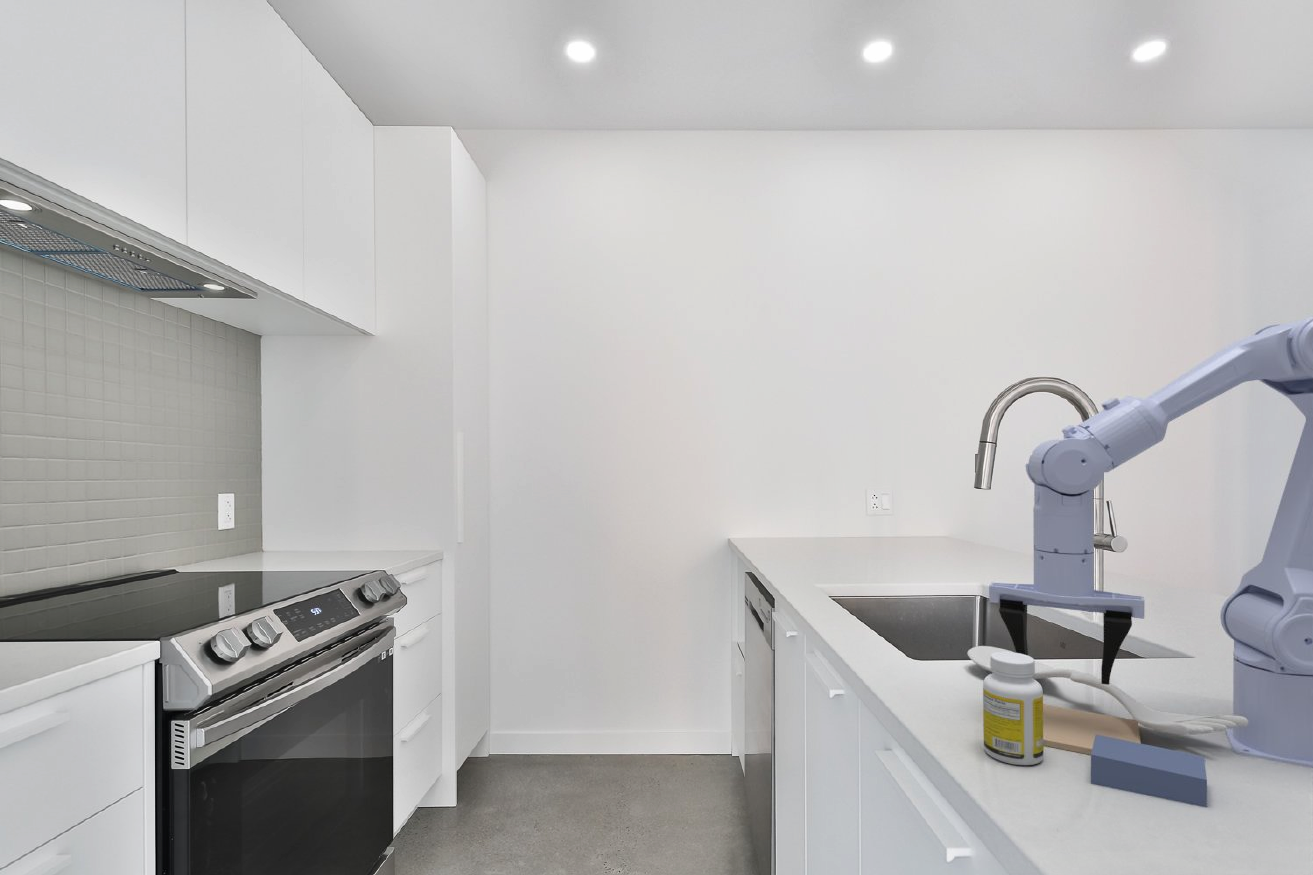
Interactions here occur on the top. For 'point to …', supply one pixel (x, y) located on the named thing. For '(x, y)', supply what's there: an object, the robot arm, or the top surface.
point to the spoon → (1126, 700)
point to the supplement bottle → (1013, 710)
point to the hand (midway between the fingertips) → (1063, 675)
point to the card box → (1149, 770)
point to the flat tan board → (1083, 728)
